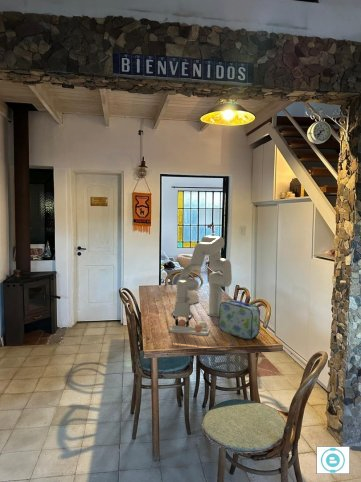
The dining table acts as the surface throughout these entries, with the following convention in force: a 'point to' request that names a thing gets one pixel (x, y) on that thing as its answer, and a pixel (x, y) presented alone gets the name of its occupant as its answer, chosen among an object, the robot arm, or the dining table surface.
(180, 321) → the terracotta ball
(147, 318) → the dining table surface
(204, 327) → the ball cream
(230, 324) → the lunch box
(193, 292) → the kettle
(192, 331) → the grey channel
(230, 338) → the dining table surface
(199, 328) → the terracotta ball
